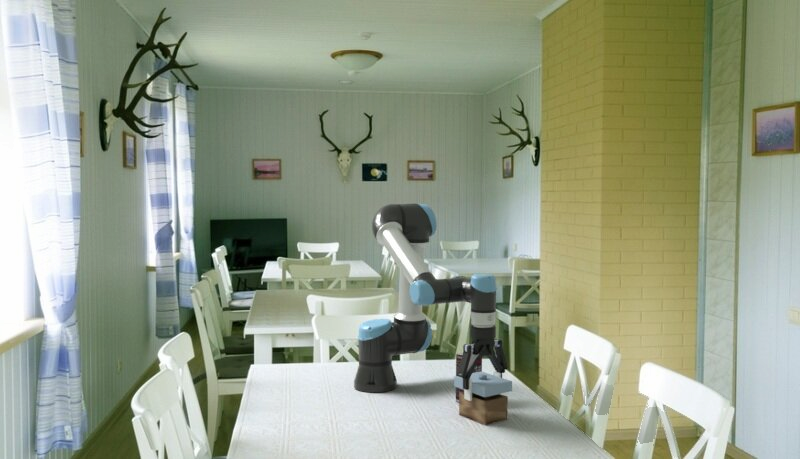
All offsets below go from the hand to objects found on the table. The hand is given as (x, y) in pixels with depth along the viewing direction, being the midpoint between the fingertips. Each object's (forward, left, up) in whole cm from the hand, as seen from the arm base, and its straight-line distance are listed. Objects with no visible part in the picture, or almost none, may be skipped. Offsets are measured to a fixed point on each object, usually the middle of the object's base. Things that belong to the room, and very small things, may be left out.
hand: (482, 396), depth 219 cm
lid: (0, 0, +1) cm, 1 cm away
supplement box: (-16, +8, -7) cm, 19 cm away
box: (0, 0, -6) cm, 6 cm away
